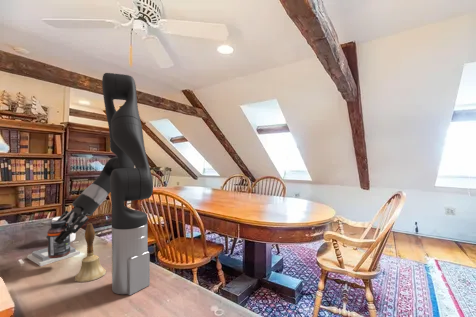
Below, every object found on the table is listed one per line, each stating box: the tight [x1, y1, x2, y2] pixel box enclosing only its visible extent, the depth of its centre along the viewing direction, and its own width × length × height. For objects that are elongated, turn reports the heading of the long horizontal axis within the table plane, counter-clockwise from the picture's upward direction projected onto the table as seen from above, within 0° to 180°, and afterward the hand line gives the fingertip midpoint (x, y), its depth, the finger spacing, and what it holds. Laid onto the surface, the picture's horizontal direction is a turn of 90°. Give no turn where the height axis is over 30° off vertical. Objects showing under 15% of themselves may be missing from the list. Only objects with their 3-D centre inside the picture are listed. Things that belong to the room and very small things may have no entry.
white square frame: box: [27, 245, 81, 267], centre depth 89 cm, size 12×12×2 cm
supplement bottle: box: [47, 220, 71, 258], centre depth 80 cm, size 6×6×11 cm
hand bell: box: [74, 222, 107, 283], centre depth 74 cm, size 8×8×16 cm
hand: (52, 241), depth 78 cm, fingers closed on supplement bottle, 6 cm apart
